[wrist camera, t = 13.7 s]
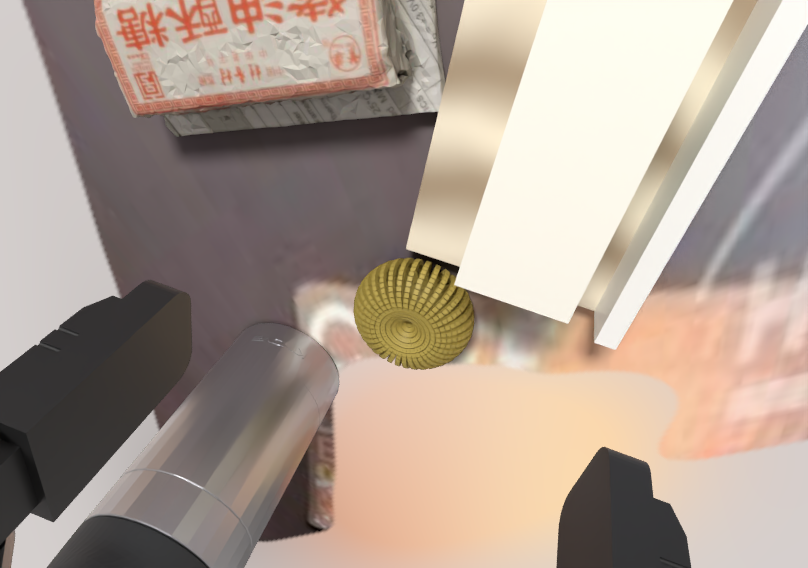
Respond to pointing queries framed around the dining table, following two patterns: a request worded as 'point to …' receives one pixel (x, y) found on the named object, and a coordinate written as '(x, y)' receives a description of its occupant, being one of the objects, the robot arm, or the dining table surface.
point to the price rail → (700, 159)
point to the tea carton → (581, 143)
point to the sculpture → (413, 314)
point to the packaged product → (272, 60)
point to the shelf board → (487, 118)
